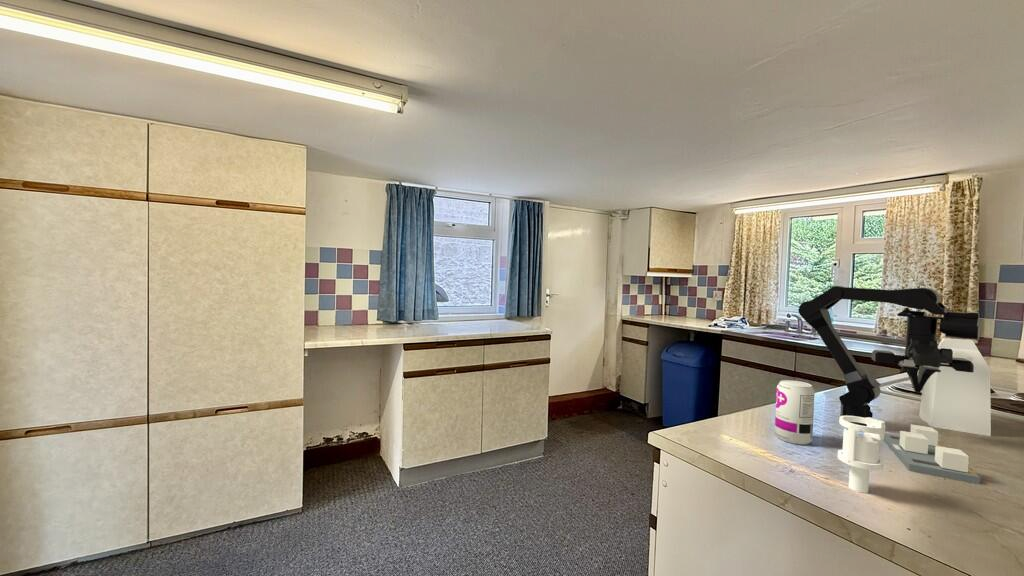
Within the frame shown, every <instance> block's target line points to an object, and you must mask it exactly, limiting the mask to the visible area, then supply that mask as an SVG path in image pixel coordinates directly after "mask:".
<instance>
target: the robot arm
mask: <svg viewBox="0 0 1024 576" xmlns="http://www.w3.org/2000/svg"><path fill="white" fill-rule="evenodd" d="M842 300H849V301H850V300H851V301H862V302H875V303H887V304H888V303H889V304H893V305H898V306H902V307H905V308H904V309H903V310H901V311H900V312H899V313H897V316H898V317H903V318H904V317H905V318H906V319H907V320H906V333H905V349H904V355H903V354H895V352H892V351H890V350H882V349H874V350H872V352H871V360H872V361H874V362H875V363H882V364H893V363H894V362H898V366H899V367H901V368H902V369H904V370H905V372H906V374H907V376H908V378H909V380H910V382H911V386H912V388H913V391H914V392H915V393H919V394H920V393H922V391H923V387H924V385H925V383H926V382H927V380H928V379H929V377H930V376H931V375H932V374H934V373H935V372H941V370H939V367H940V366H945V367H952V368H953V369H955V370H956V371H962V372H973V370H974V365H973V363H972V362H971V361H969V360H967V359H964V358H955V357H953V351H952V350H951V349H946V348H941V349H938V340H937V336H938V335H937V332H938V320H939V333H941V334H944V335H945V338H950V339H964V340H972V341H980V336H981V329H982V328H981V327H982V326H981V324H980V323H981V321H980V313H979V312H974V311H973V312H959V311H950V310H949V309H948V307H946V306H945V305H944V304H943V303H942V302H941V300H942V299H941V295H940V294H939V292H938V291H936V290H935V289H933V288H929V287H917V288H915V287H914V288H903V289H883V288H882V289H879V288H865V287H862V288H861V287H849V286H848V287H846V286H841V285H833V286H832V287H830V288H829V289H828V290H826V291H825V292H823V293H821V294H820V295H817V296H816V297H814V298H812V299H811V300H807V301H804V302H801V304H800V305H799V307H798V310H797V311H798V314H799V315H800V317H801V318H803V319H802V320H803V321H805V322H806V323H807V324H808V325H809V326H811V328H813V329H814V330H815V331H816V332H817V334H818V336H819V337H820V338H821V341H822V342H823V343H824V345H825V346H826V349H827V350H828V352H829V353H830V354H831V356H832V358H833V360H834V361H835V363H836V364H837V365H838V367H839V369H840V370H841V372H842V374H843V376H844V382H845V386H846V387H847V390H848V391H847V392H846V393H844V394H842V395H840V396H839V402H840V411H839V412H840V416H857V417H863V418H867V417H869V418H870V417H871V418H873V416H874V413H873V411H872V410H871V406H870V405H869V404H870V403H871V402H872V401H875V399H877V398H878V397H880V395H881V392H882V389H881V386H882V384H881V383H880V382H879V381H878V380H877V379H876V377H875V375H874V373H873V371H870V372H866V371H865V370H863V369H862V368H861V367H860V366H859V364H858V363H857V361H856V359H855V358H854V356H853V355H852V353H851V351H850V350H849V349H848V347H847V345H845V342H844V341H843V339H842V338H841V337H840V334H839V333H838V332H837V331H836V329H835V328H834V326H833V323H832V319H831V315H830V313H829V310H830V309H831V308H833V307H834V306H835V305H836V304H838V302H840V301H842ZM911 309H915V310H911ZM917 310H918V311H917ZM920 310H921V311H920ZM923 310H925V311H923ZM926 311H927V312H929V313H930V314H932V315H928V314H927V312H926ZM937 315H938V316H937ZM939 315H940V316H939ZM916 365H917V366H919V367H917V366H916ZM840 416H839V417H840ZM850 423H853V424H857V425H861V426H867V424H864V423H858V422H850Z"/></svg>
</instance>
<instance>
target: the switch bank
mask: <svg viewBox="0 0 1024 576" xmlns="http://www.w3.org/2000/svg"><path fill="white" fill-rule="evenodd" d="M882 441H883V442H884V444H885V445H888V446H887V447H888V449H890V451H891V452H892V453H893V452H894V453H893V454H894V455H895V456H896V457H897V458H898V460H899V461H900V462H901V463H902V465H904V467H905V468H906V469H907V470H908V471H910V472H915V473H920V474H924V475H925V474H926V475H930V476H936V477H940V478H945V479H946V478H947V479H951V480H955V481H961V482H967V483H971V484H972V483H973V484H976V485H980V483H981V482H980V481H981V480H980V479H981V476H979V475H978V474H977V473H976V472H975V471H973V470H972V469H971V468H969V467H968V472H962V471H957V470H951V469H946V468H942V467H941V466H940V465H939V464H938V463H936V462H935V447H936V446H932V445H928V454H923V453H917V452H912V451H906V450H904V449H903V448H902V447H901V446H900V445H899V444H900V434H892V433H886V432H885V433H884V440H882ZM938 446H940V447H945V446H944V445H942V444H941V443H940V442H938Z"/></svg>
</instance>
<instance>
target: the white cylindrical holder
mask: <svg viewBox="0 0 1024 576" xmlns="http://www.w3.org/2000/svg"><path fill="white" fill-rule="evenodd" d="M838 421H839V422H838V423H839V425H841V426H842V427H844V428H843V431H842V432H843V434H842V435H843V436H842V449H838V450H837V459H838V460H839V461H841V462H842V463H844V464H845V465H846V464H847V465H848V466H849V473H848V488H849V489H850V490H852V491H854V492H857V493H861V494H868V493H869V481H870V471H882V470H883V469H884V461H883V460H882V459H881V458H880V457H879V455H880V450H879V449H880V441H883V440H884V433H886V422H885V421H883V420H879V419H876V418H873V417H872V418H871V417H870V418H869V417H867V418H863V417H857V416H839V417H838ZM850 422H858V423H864V424H867V426H861V425H857V424H853V423H850ZM860 431H862V433H863V434H860V433H859V432H860Z"/></svg>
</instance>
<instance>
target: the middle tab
mask: <svg viewBox="0 0 1024 576" xmlns="http://www.w3.org/2000/svg"><path fill="white" fill-rule="evenodd" d="M899 435H900V444H899V445H900V446H901V447H902V448H903V449H904V450H906V451H912V452H917V453H923V454H928V439H927V438H926V437H925V436H924V435H922V434H917V433H911V431H904V430H900V431H899Z"/></svg>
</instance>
